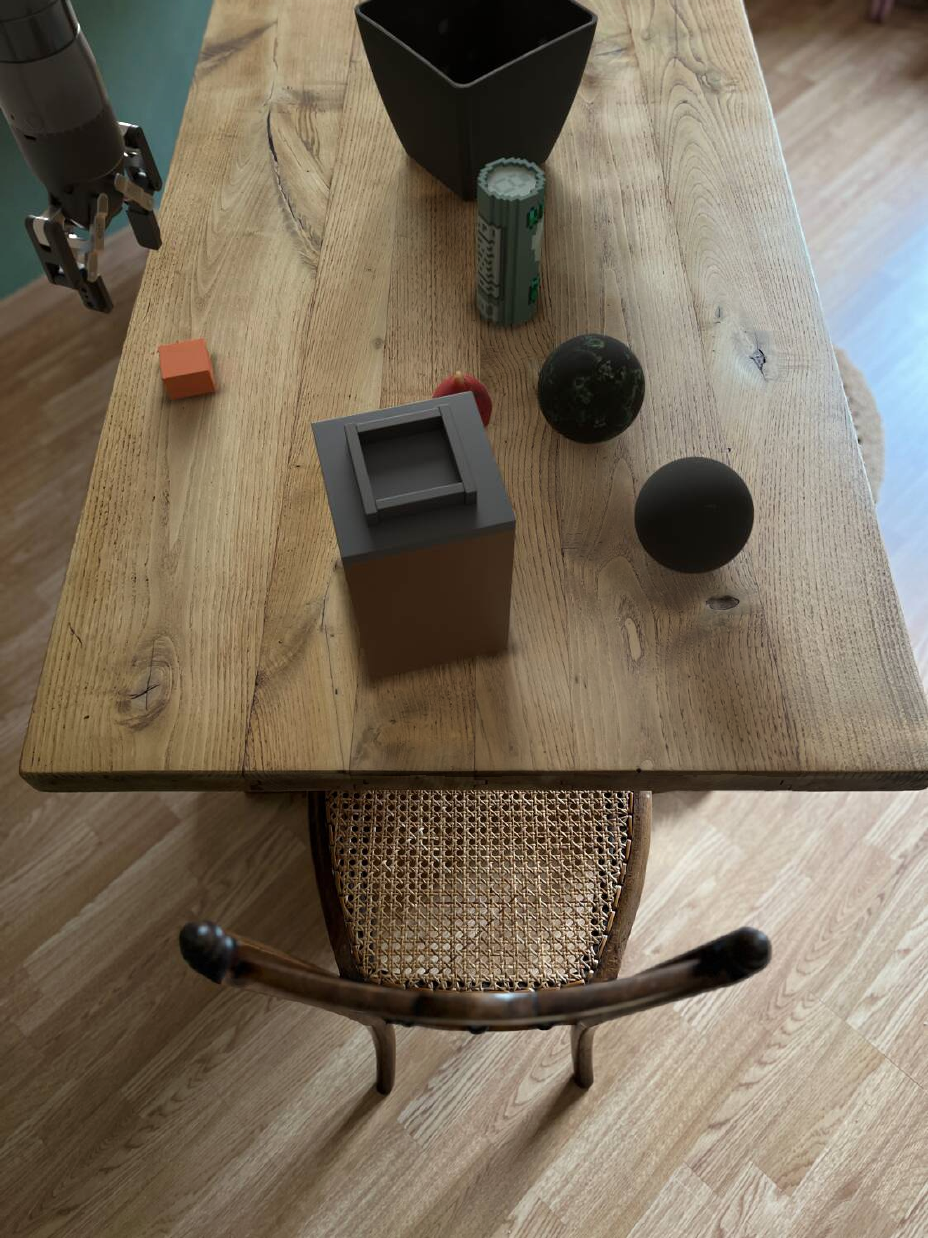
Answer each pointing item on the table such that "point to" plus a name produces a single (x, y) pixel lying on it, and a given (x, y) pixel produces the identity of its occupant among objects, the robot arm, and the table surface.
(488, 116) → the flower pot
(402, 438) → the brown holder box
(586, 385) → the decorative stone
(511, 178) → the can
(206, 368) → the block
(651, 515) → the black ball
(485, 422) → the onion
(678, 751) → the table surface
